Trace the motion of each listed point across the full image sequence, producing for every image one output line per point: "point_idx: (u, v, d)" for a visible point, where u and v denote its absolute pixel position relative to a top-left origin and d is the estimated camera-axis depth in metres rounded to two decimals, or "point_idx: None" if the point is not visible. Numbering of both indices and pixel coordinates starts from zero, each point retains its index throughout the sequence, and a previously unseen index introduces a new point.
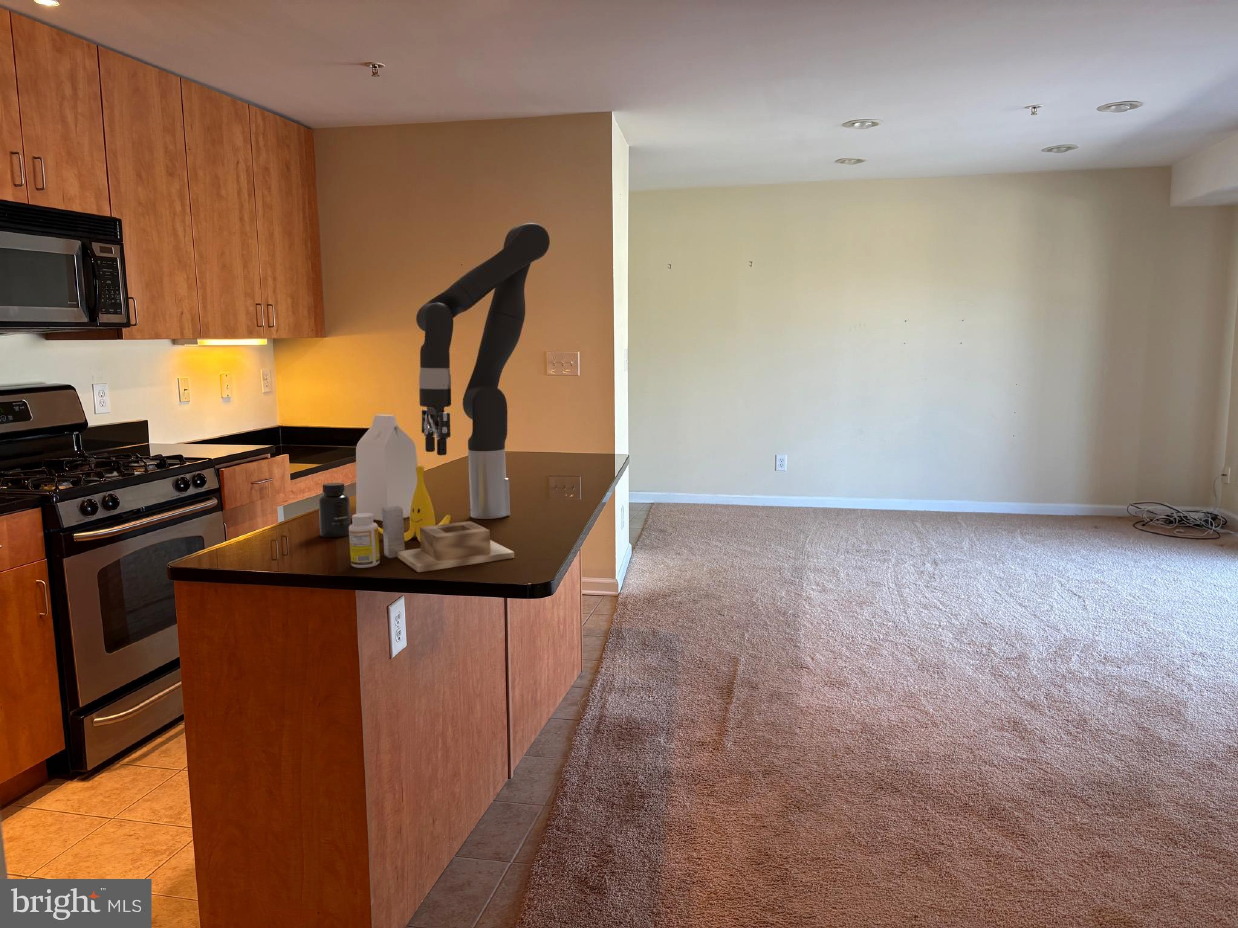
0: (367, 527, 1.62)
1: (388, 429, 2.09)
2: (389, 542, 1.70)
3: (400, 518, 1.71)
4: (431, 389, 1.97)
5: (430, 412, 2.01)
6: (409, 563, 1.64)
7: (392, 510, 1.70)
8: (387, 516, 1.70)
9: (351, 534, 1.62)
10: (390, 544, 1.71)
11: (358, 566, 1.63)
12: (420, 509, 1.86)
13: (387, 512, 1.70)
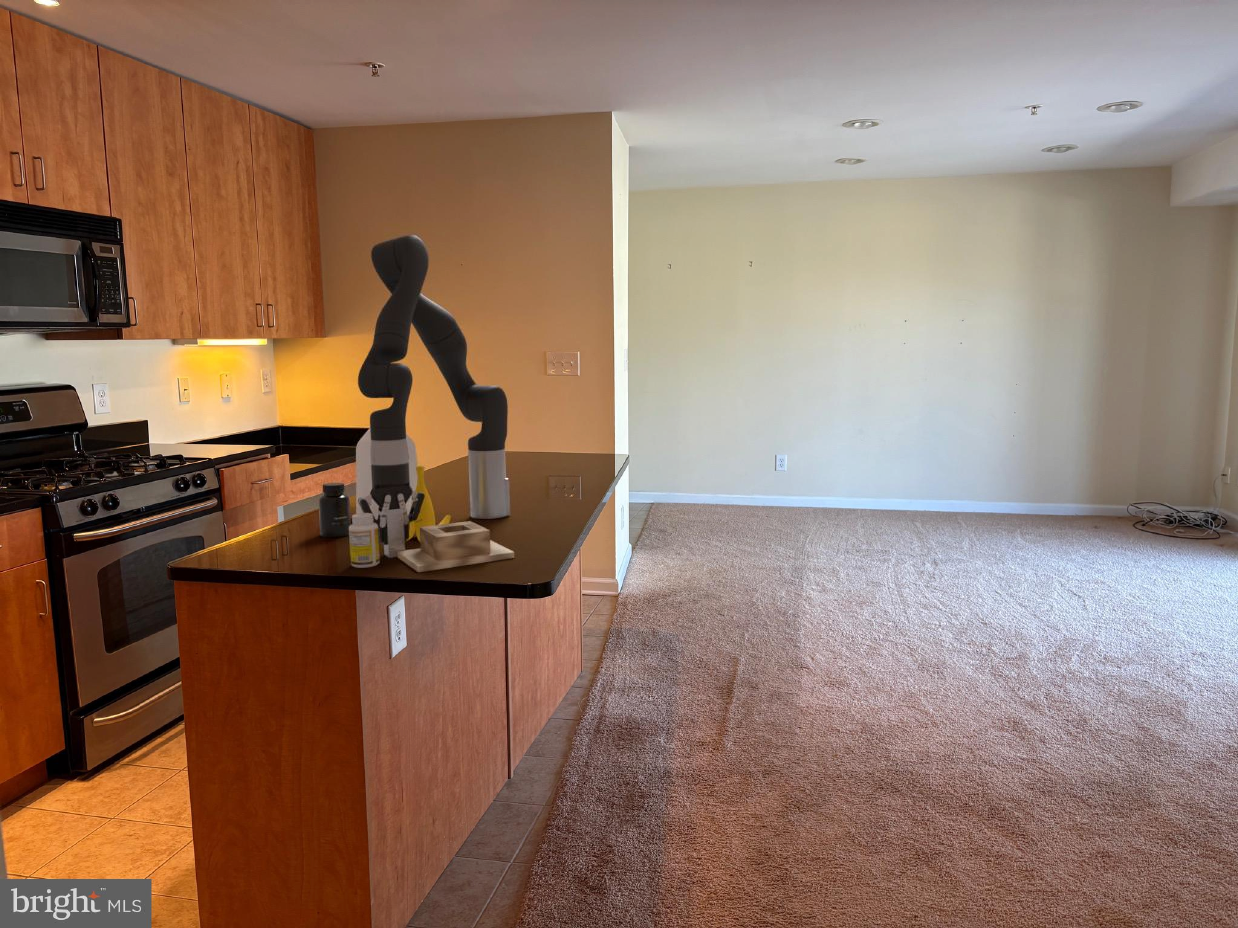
0: (367, 527, 1.62)
1: None
2: (389, 542, 1.70)
3: (400, 518, 1.71)
4: (407, 463, 1.70)
5: (390, 491, 1.70)
6: (409, 563, 1.64)
7: (392, 510, 1.70)
8: (387, 516, 1.70)
9: (351, 534, 1.62)
10: (390, 544, 1.71)
11: (358, 566, 1.63)
12: (421, 509, 1.86)
13: (387, 512, 1.70)
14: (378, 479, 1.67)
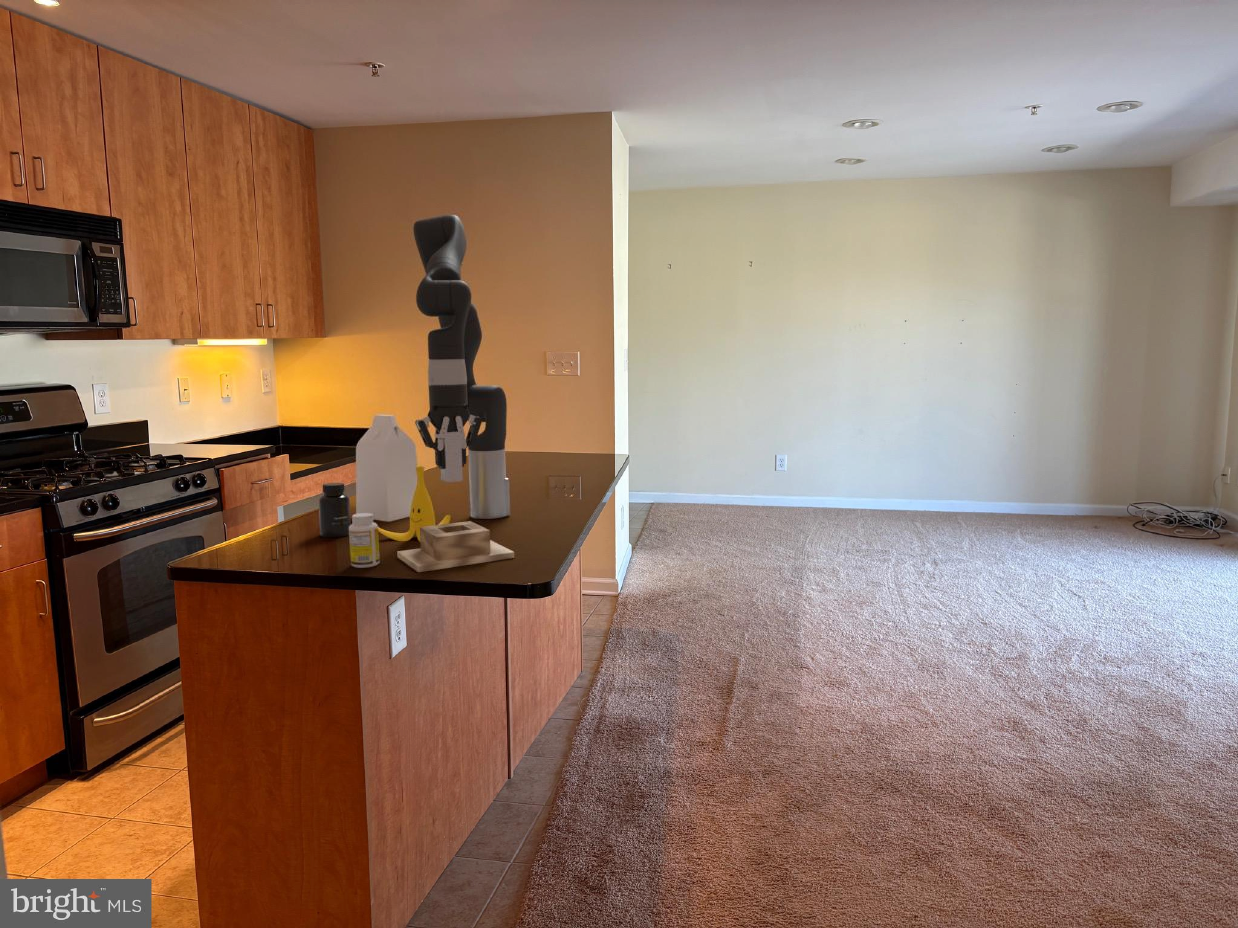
0: (367, 527, 1.62)
1: (388, 429, 2.09)
2: (447, 466, 1.66)
3: (458, 441, 1.66)
4: (466, 384, 1.65)
5: (448, 413, 1.65)
6: (409, 563, 1.64)
7: (450, 433, 1.65)
8: (445, 439, 1.65)
9: (351, 534, 1.62)
10: (448, 468, 1.66)
11: (358, 566, 1.63)
12: (421, 509, 1.86)
13: (445, 434, 1.65)
14: (436, 400, 1.63)
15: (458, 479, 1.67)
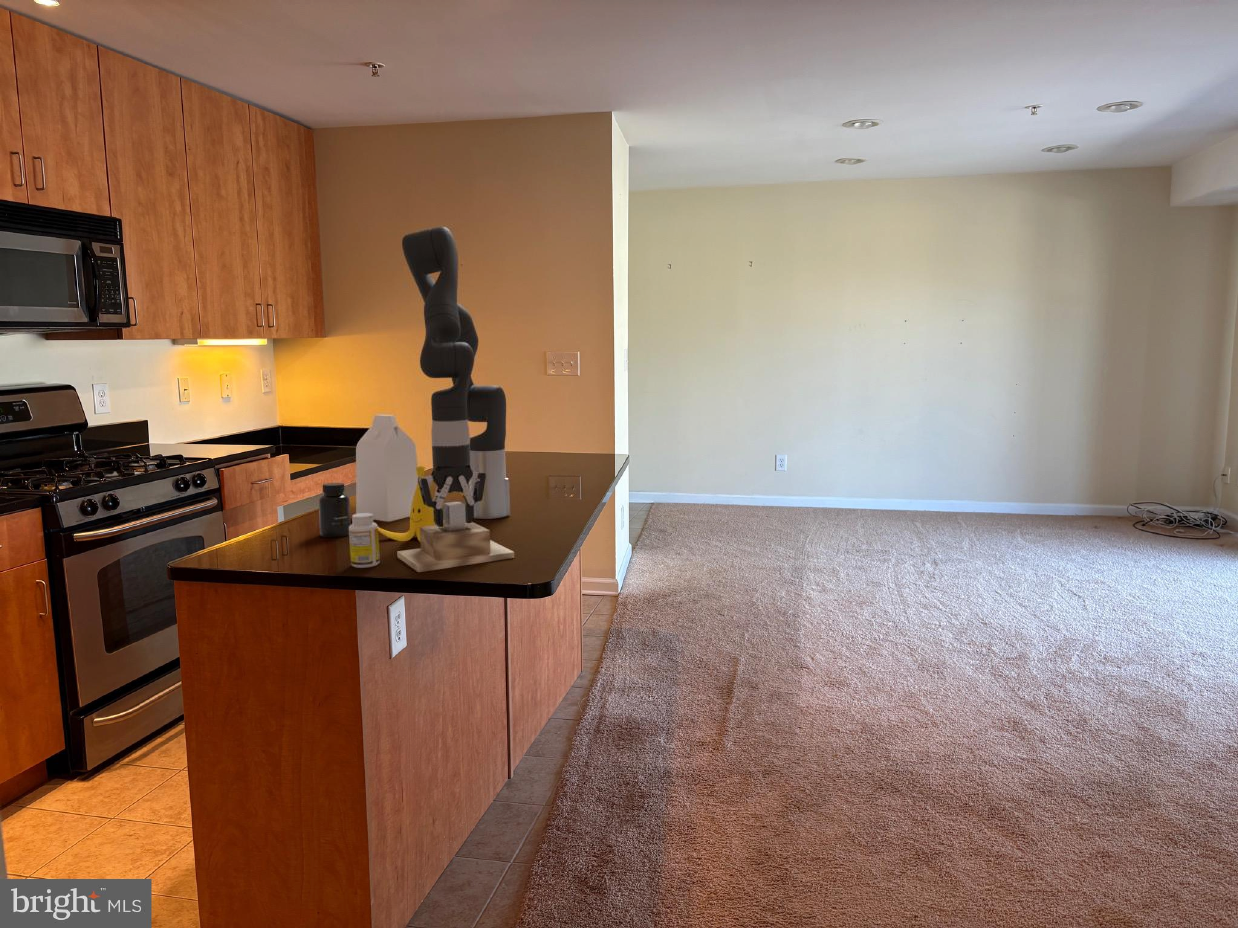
0: (367, 527, 1.62)
1: (388, 429, 2.09)
2: None
3: (462, 514, 1.68)
4: (469, 444, 1.67)
5: (451, 473, 1.67)
6: (409, 563, 1.64)
7: (455, 505, 1.67)
8: (450, 511, 1.67)
9: (351, 534, 1.62)
10: None
11: (358, 566, 1.63)
12: (421, 509, 1.86)
13: (450, 507, 1.67)
14: (440, 460, 1.64)
15: None
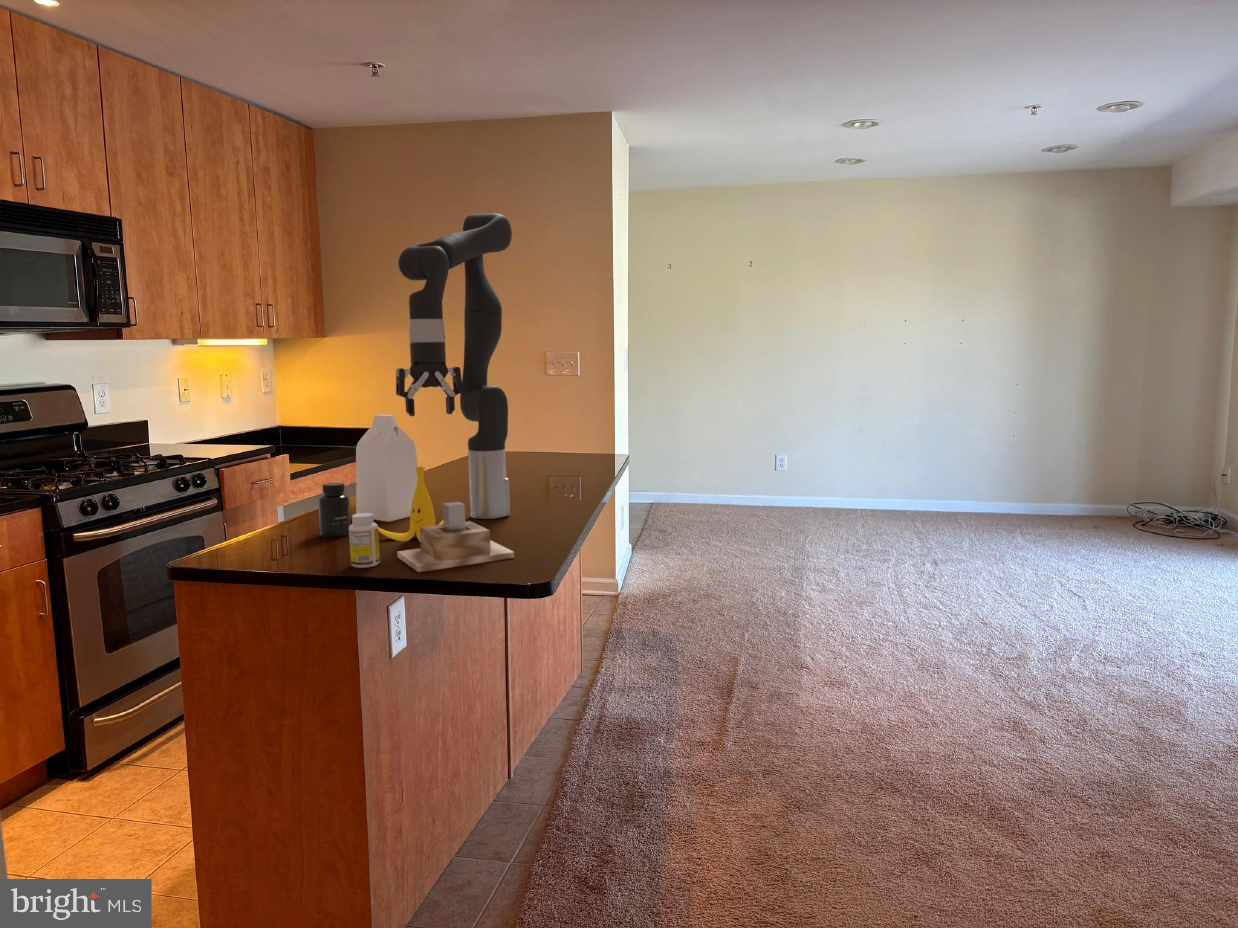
0: (367, 527, 1.62)
1: (388, 429, 2.09)
2: None
3: (462, 514, 1.68)
4: (444, 342, 1.81)
5: (428, 369, 1.80)
6: (409, 563, 1.64)
7: (454, 506, 1.67)
8: (449, 512, 1.67)
9: (351, 534, 1.62)
10: None
11: (358, 566, 1.63)
12: (421, 509, 1.86)
13: (449, 508, 1.67)
14: (417, 356, 1.78)
15: None
